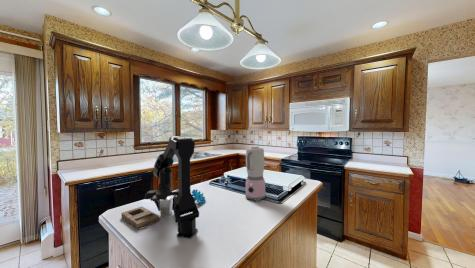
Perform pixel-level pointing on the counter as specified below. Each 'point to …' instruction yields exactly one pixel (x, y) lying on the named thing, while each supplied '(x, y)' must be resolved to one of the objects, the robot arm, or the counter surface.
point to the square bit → (166, 207)
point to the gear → (198, 196)
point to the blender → (255, 173)
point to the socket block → (140, 217)
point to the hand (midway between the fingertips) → (166, 210)
